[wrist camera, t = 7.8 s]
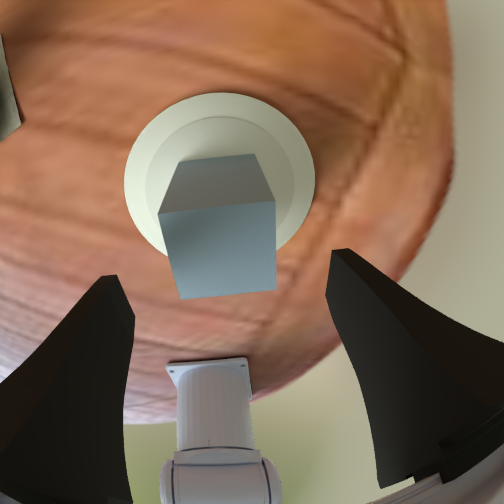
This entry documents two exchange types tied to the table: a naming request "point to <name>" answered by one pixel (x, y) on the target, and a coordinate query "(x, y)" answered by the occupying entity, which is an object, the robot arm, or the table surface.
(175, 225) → the block
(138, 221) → the dish
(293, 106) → the table surface
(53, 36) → the table surface
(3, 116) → the condiment
